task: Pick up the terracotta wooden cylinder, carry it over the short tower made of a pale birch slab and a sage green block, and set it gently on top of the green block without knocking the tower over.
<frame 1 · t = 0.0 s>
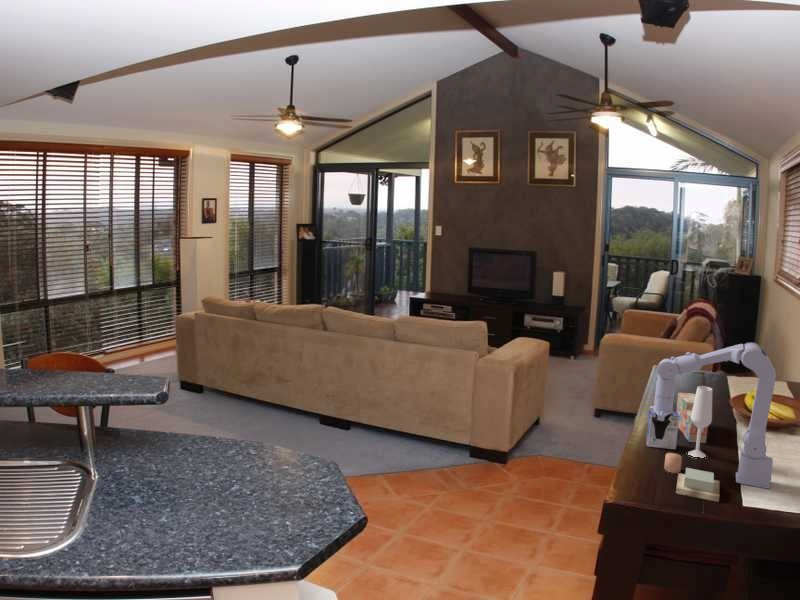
hand: (660, 435, 240), 10 cm above the table, tool pointing down, fingers open, 7 cm apart
green block: (698, 484, 223), point 2 cm above the table
birch slab: (697, 491, 223), on the table
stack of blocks: (689, 433, 273), on the table
ink cartridge box: (660, 446, 258), on the table
terracotta cylinder: (672, 470, 237), on the table
champagne flute: (696, 455, 251), on the table
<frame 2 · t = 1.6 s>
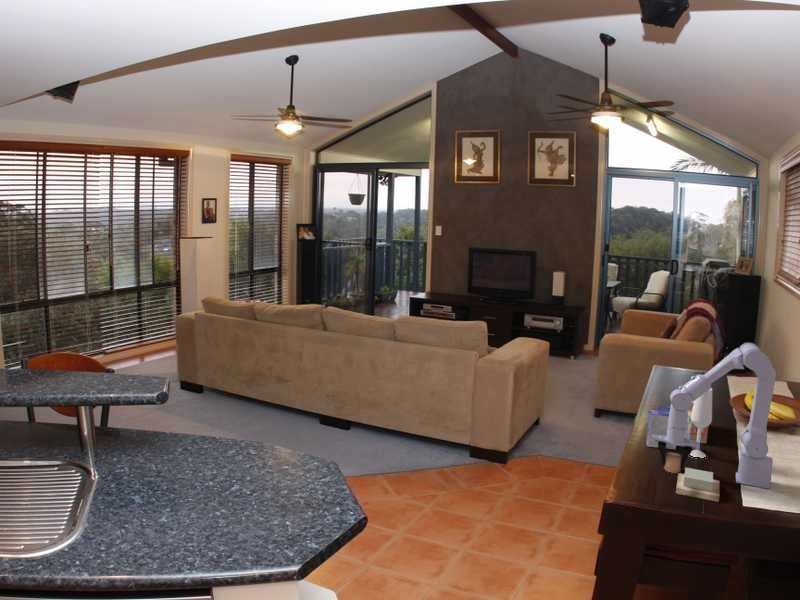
hand: (672, 466, 237), 1 cm above the table, tool pointing down, fingers closed on terracotta cylinder, 5 cm apart
green block: (697, 483, 223), point 2 cm above the table, touching birch slab
birch slab: (697, 491, 223), on the table, touching green block
terracotta cylinder: (672, 470, 237), on the table, touching gripper
everything else where it was.
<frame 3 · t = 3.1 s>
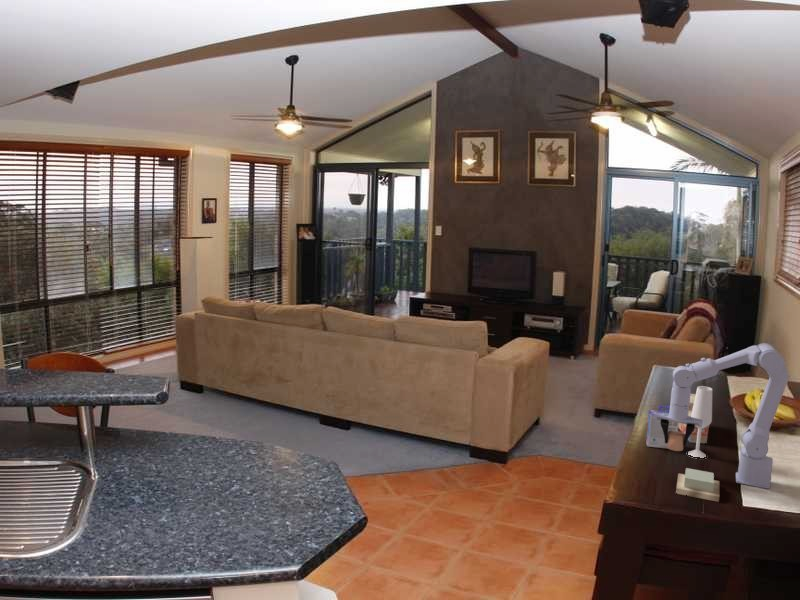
hand: (675, 443, 235), 9 cm above the table, tool pointing down, fingers closed on terracotta cylinder, 5 cm apart
terracotta cylinder: (674, 448, 236), point 8 cm above the table, touching gripper
everything else where it was.
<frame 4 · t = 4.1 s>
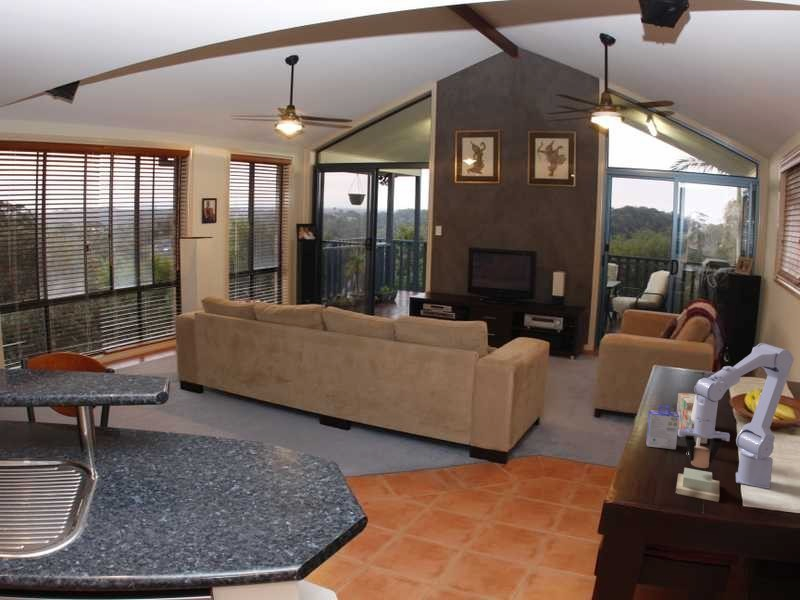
hand: (700, 460, 222), 9 cm above the table, tool pointing down, fingers closed on terracotta cylinder, 5 cm apart
terracotta cylinder: (699, 464, 222), point 8 cm above the table, touching gripper
everything else where it was.
when the fingers open (8 cm above the table, at t = 5.0 s): terracotta cylinder drops 2 cm, resting on green block.
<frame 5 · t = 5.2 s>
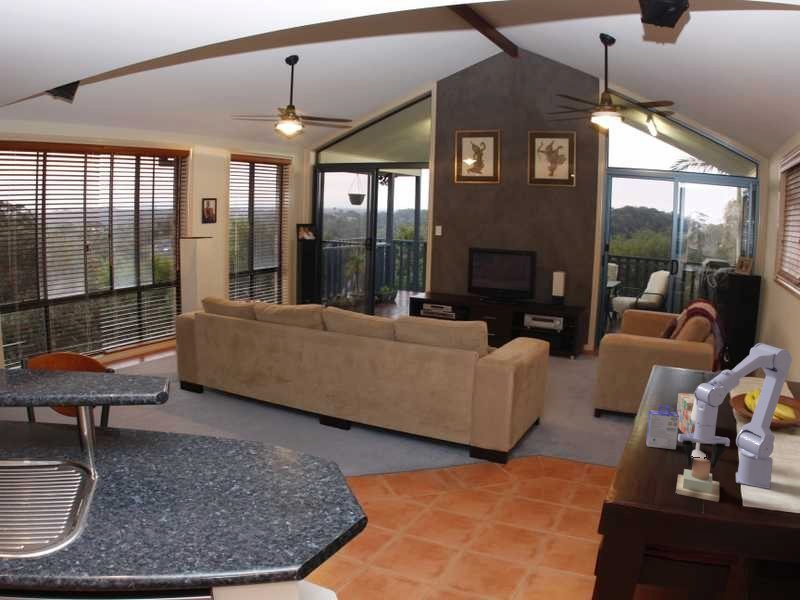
hand: (700, 465, 222), 8 cm above the table, tool pointing down, fingers open, 6 cm apart
green block: (696, 485, 223), point 1 cm above the table, touching birch slab, terracotta cylinder
terracotta cylinder: (700, 476, 222), point 4 cm above the table, touching green block
everything else where it was.
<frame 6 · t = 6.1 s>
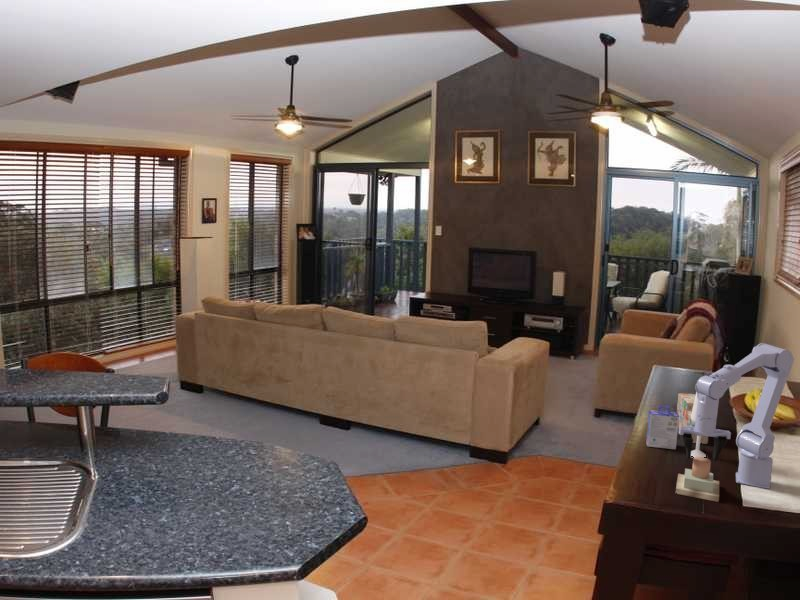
hand: (701, 458, 221), 10 cm above the table, tool pointing down, fingers open, 7 cm apart
nothing on the table moved.
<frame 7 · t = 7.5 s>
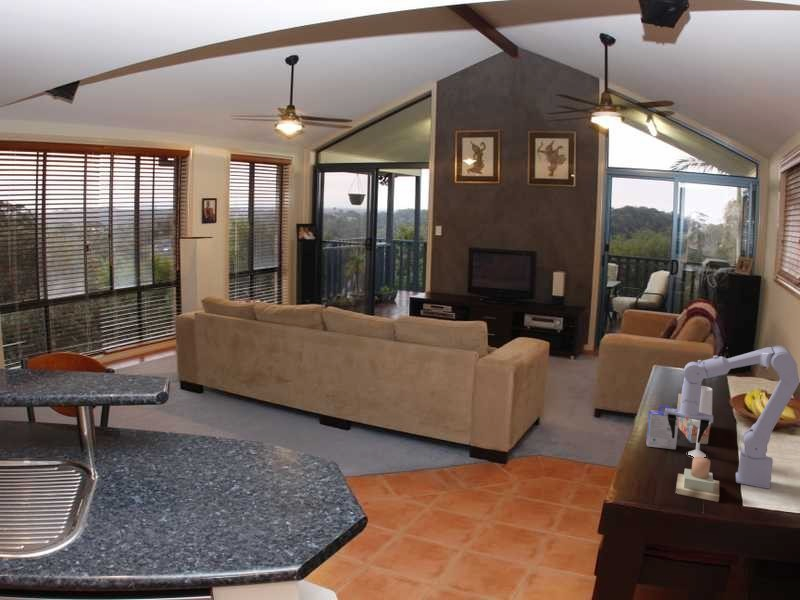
hand: (685, 439, 236), 10 cm above the table, tool pointing down, fingers open, 7 cm apart
nothing on the table moved.
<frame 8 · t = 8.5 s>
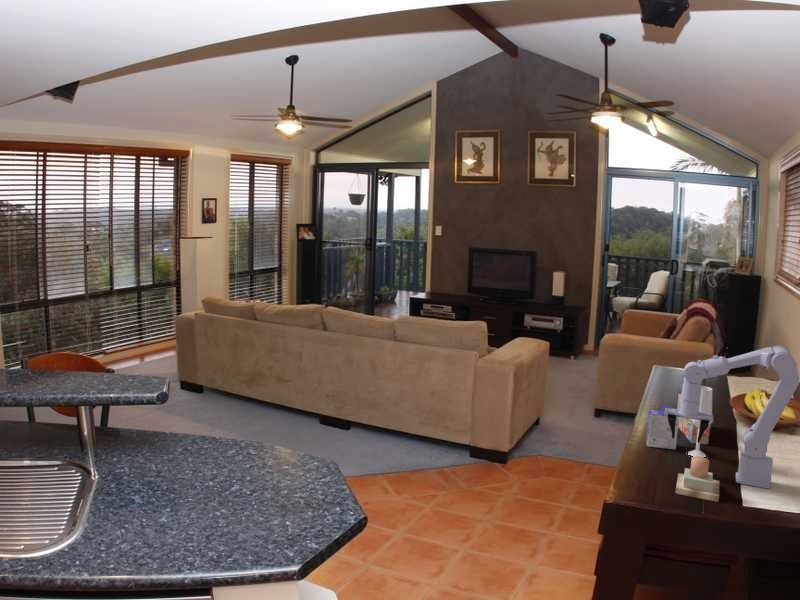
hand: (685, 439, 236), 10 cm above the table, tool pointing down, fingers open, 7 cm apart
at the end: terracotta cylinder 0.2 cm off-centre on the green block, point 3.0 cm above the green block's base; green block 0.1 cm off-centre on the birch slab, point 2.5 cm above the birch slab's base; terracotta cylinder tilted 0° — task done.
